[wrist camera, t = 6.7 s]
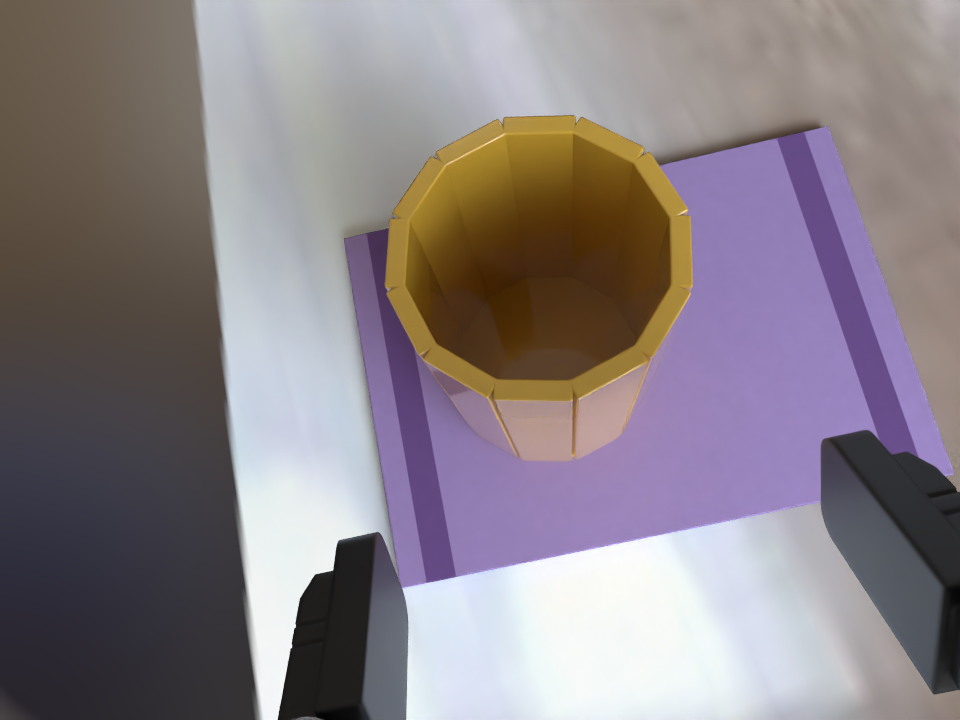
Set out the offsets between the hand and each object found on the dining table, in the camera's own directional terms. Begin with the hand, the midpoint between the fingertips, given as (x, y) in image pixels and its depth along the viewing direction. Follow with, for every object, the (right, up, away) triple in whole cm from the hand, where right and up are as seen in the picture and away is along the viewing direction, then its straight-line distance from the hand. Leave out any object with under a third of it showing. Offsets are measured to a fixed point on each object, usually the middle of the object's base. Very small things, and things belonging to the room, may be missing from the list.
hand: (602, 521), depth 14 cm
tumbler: (0, +3, +11) cm, 12 cm away
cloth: (+3, +3, +12) cm, 12 cm away
